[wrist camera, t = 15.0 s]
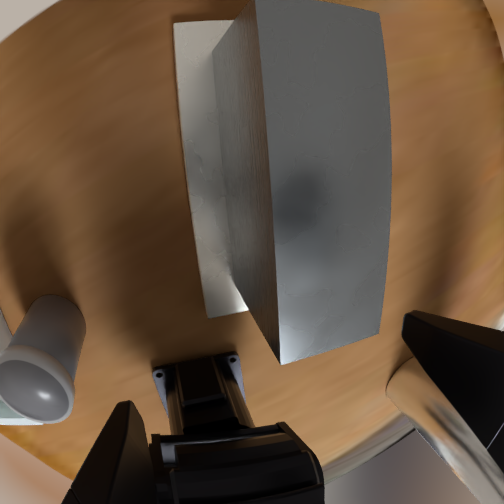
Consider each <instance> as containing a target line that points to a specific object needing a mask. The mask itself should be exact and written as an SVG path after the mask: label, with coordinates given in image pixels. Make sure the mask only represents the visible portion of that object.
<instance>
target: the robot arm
mask: <svg viewBox="0 0 504 504" xmlns="http://www.w3.org/2000/svg"><path fill="white" fill-rule="evenodd" d="M402 338H403V340H404V342H405V343H406V344H407V346H408V347H409V349H410V350H411V352H412V353H413V355H414V356H415V358H416V359H417V361H418V363H419V364H420V366H421V367H422V368H423V370H424V371H425V372H426V374H427V375H428V376H429V377H430V379H431V380H432V381H433V382H434V384H435V385H436V386H437V387H438V389H439V390H440V391H441V392H442V393H443V395H444V396H445V397H446V398H447V400H448V401H449V402H450V403H451V405H452V406H453V407H454V409H455V410H456V411H457V412H458V414H459V415H460V416H461V417H462V419H463V420H464V421H465V423H466V424H467V425H468V426H469V428H470V429H471V430H472V432H473V433H474V434H475V436H476V437H477V438H478V440H479V441H480V442H481V444H482V445H483V446H484V448H485V449H487V452H488V453H489V455H490V456H491V457H492V459H493V460H494V461H495V463H496V464H497V466H498V467H499V468H500V470H501V471H502V473H503V474H504V331H501V330H496V329H492V328H488V327H483V326H479V325H475V324H471V323H467V322H462V321H458V320H454V319H450V318H446V317H442V316H438V315H433V314H429V313H425V312H421V311H417V310H413V311H411V312H408V313H406V314H405V315H404V318H403V325H402ZM231 358H234V359H233V360H230V359H231ZM157 373H162V374H157ZM152 375H153V379H154V381H155V384H156V387H157V390H158V392H159V395H160V398H161V400H162V403H163V405H164V408H165V410H166V413H167V415H168V418H169V423H170V430H171V435H160V434H151V437H152V443H149V447H148V443H147V438H146V433H145V427H144V423H143V420H142V417H141V415H140V414H139V412H138V410H137V409H136V407H135V405H134V403H133V402H132V401H130V400H128V401H122V402H119V403H117V405H116V407H115V408H114V410H113V412H112V413H111V415H110V417H109V419H108V420H107V422H106V424H105V426H104V427H103V429H102V431H101V433H100V434H99V436H98V438H97V440H96V441H95V443H94V445H93V447H92V448H91V450H90V452H89V454H88V456H87V457H86V459H85V461H84V463H83V465H82V466H81V468H80V470H79V472H78V474H77V475H76V477H75V479H74V481H73V483H72V485H71V489H69V490H68V492H67V494H66V496H65V497H64V499H63V501H62V503H61V504H325V502H324V489H325V488H324V477H323V472H322V468H321V465H320V463H319V460H318V459H317V457H316V455H315V454H314V452H313V451H312V450H311V449H310V448H309V447H308V446H307V445H306V444H305V443H304V442H303V441H302V440H301V439H300V438H299V437H298V436H297V435H296V433H295V432H294V431H293V430H292V429H291V428H290V427H289V426H288V425H287V424H286V423H285V422H278V423H276V424H274V425H268V426H261V427H255V425H254V423H253V420H252V418H251V415H250V413H249V410H248V408H247V406H246V400H245V393H244V386H243V379H242V372H241V365H240V359H239V356H238V354H237V353H236V352H229V353H224V354H219V355H215V356H210V357H205V358H201V359H196V360H191V361H186V362H180V363H175V364H170V365H164V366H159V367H155V368H154V369H153V370H152Z"/></svg>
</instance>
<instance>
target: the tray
mask: <svg viewBox="0 0 504 504" xmlns="http://www.w3.org/2000/svg"><path fill="white" fill-rule="evenodd" d="M12 338H13V337H12V335H11V332H10V330H9V328H8V326H7V323H6V321H5V319H4V316H3V314H2V312H1V309H0V353H1V352H2V351H3V350H4V349H6V348H7V347H8V345H9V343H10V341H11V340H12ZM43 424H44V423H39V422H35V421H32V420H29V419H26V418H24V417H22V416H20V415H19V414H17V413H16V412H14V411H13V410H12V409H10V408H9V407H8V406H7V405H6V404H5V403H4V402H3V401H2V400H1V398H0V425H43Z"/></svg>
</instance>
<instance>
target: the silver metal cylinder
mask: <svg viewBox="0 0 504 504" xmlns="http://www.w3.org/2000/svg"><path fill="white" fill-rule="evenodd" d="M386 395H387V397H388V398H389V399H390V400H391V402H392V403H393V404H394V405H395V406H396V407H397V408H398V410H399V411H400V412H401V413H402V414H403V415H404V416H405V417H406V419H407V420H408V421H409V422H410V423H411V424H412V425H413V426H414V428H415V429H416V430H417V431H418V432H419V433H420V434H421V436H422V437H423V438H424V439H425V440H426V441H427V442H428V444H429V445H430V446H431V447H432V448H433V449H434V450H435V451H436V453H437V454H438V455H439V456H440V457H441V458H442V459H443V461H444V462H445V463H446V464H447V465H448V466H449V467H450V469H451V470H452V471H453V472H454V473H455V474H456V475H457V477H458V478H459V479H460V480H461V481H462V482H463V483H464V484H465V486H466V487H467V488H468V489H469V490H470V491H471V492H472V494H473V495H474V496H475V497H476V498H477V499H478V500H479V502H480V503H481V504H504V474H503V473H502V471H501V470H500V468H499V467H498V466H497V464H496V463H495V461H494V460H493V459H492V457H491V456H490V455H489V453H488V452H487V449H485V448H484V446H483V445H482V444H481V442H480V441H479V440H478V438H477V437H476V436H475V434H474V433H473V432H472V430H471V429H470V428H469V426H468V425H467V424H466V423H465V421H464V420H463V419H462V417H461V416H460V415H459V414H458V412H457V411H456V410H455V409H454V407H453V406H452V405H451V403H450V402H449V401H448V400H447V398H446V397H445V396H444V395H443V393H442V392H441V391H440V390H439V389H438V387H437V386H436V385H435V384H434V382H433V381H432V380H431V379H430V377H429V376H428V375H427V374H426V372H425V371H424V370H423V368H422V367H421V366H420V364H419V363H418V361H417V359H416V358H415V357H413V358H411V359H409V360H408V361H406V362H405V363H404V364H403V365H402V366H401V367H400V368H399V369H398V370H397V371H396V372H395V373H394V375H393V376H392V378H391V379H390V381H389V383H388V385H387V389H386Z"/></svg>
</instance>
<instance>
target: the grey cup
mask: <svg viewBox="0 0 504 504" xmlns="http://www.w3.org/2000/svg"><path fill="white" fill-rule="evenodd" d="M85 334H86V324H85V320H84V317H83V315H82V314H81V312H80V311H79V309H78V308H77V307H76V306H75V305H74V304H73V303H72V302H70V301H69V300H67V299H65V298H63V297H60V296H57V295H45V296H41V297H39V298H38V299H36V300H35V301H34V302H33V303H32V305H31V306H30V308H29V310H28V311H27V313H26V315H25V317H24V318H23V320H22V322H21V323H20V325H19V327H18V329H17V331H16V332H15V334H14V336H13V338H12V340H11V341H10V343H9V345H8V347H7V348H6V349H4V350H3V351H2V352H1V353H0V398H1V400H2V401H3V402H4V403H5V404H6V405H7V406H8V407H9V408H10V409H12V410H13V411H14V412H16V413H17V414H19V415H20V416H22V417H24V418H26V419H29V420H32V421H35V422H39V423H49V424H50V423H57V422H60V421H63V420H64V419H66V418H67V417H68V416H69V415H70V413H71V411H72V407H73V402H74V396H75V386H74V379H75V374H76V370H77V365H78V361H79V357H80V353H81V349H82V345H83V341H84V337H85Z"/></svg>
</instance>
